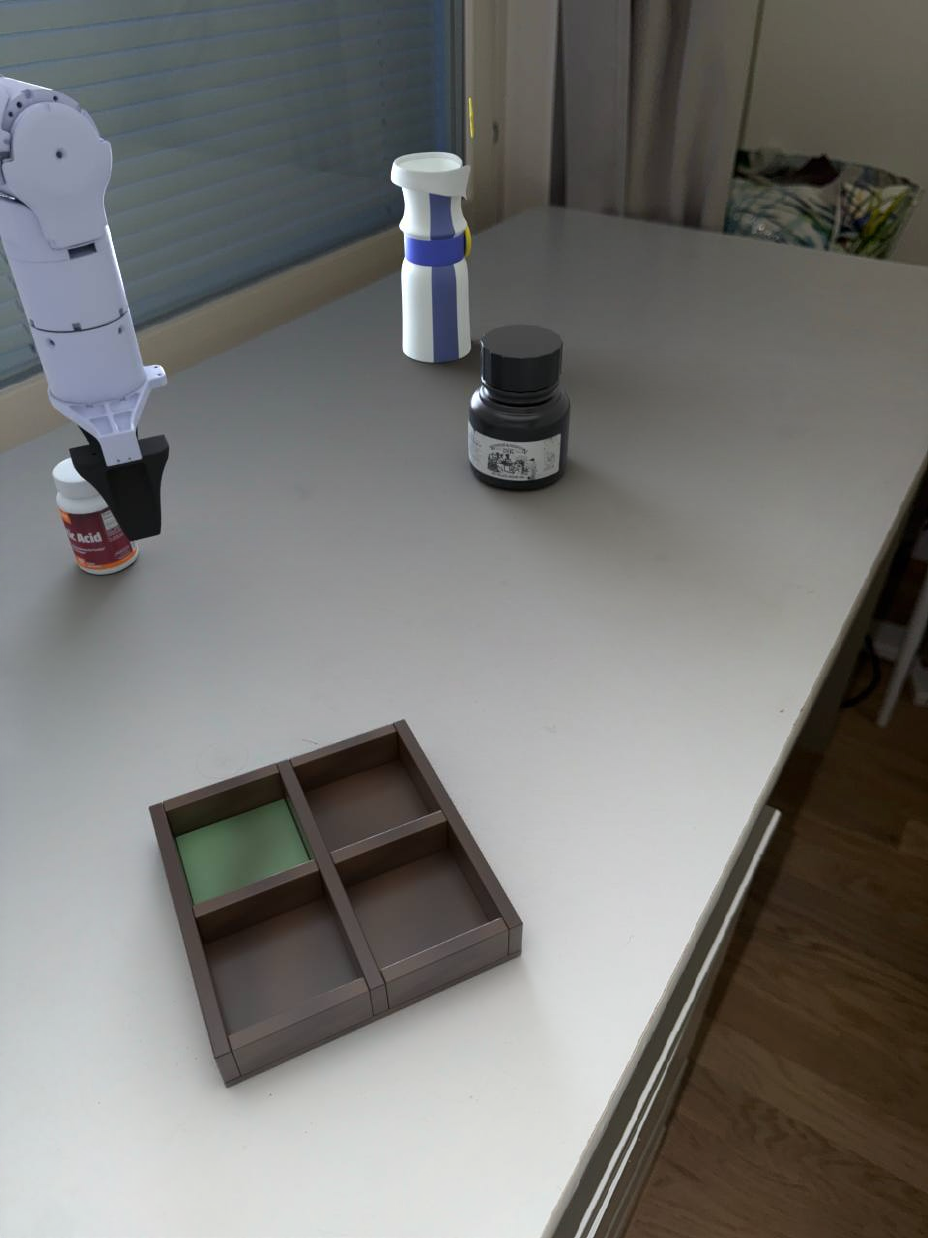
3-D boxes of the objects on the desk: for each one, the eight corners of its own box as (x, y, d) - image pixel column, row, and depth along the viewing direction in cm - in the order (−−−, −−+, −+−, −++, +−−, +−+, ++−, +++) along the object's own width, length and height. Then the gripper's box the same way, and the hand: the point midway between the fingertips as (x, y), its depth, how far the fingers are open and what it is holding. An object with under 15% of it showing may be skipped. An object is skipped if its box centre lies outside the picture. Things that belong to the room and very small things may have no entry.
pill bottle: (65, 568, 73) (32, 477, 67) (104, 536, 76) (75, 446, 71) (114, 582, 71) (84, 490, 66) (151, 548, 75) (126, 458, 69)
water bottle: (460, 327, 108) (457, 84, 92) (484, 356, 102) (485, 102, 86) (392, 336, 106) (377, 90, 90) (412, 367, 100) (400, 109, 84)
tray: (226, 1089, 42) (214, 1059, 40) (160, 839, 53) (147, 806, 51) (521, 955, 47) (523, 923, 45) (406, 750, 58) (404, 717, 56)
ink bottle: (450, 481, 82) (447, 354, 74) (483, 435, 88) (483, 313, 81) (556, 501, 79) (564, 371, 72) (581, 451, 86) (592, 327, 78)
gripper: (170, 347, 51) (216, 547, 59) (127, 263, 61) (172, 445, 70) (36, 371, 48) (104, 576, 57) (14, 281, 59) (75, 466, 67)
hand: (134, 506), depth 63 cm, fingers open, 7 cm apart
